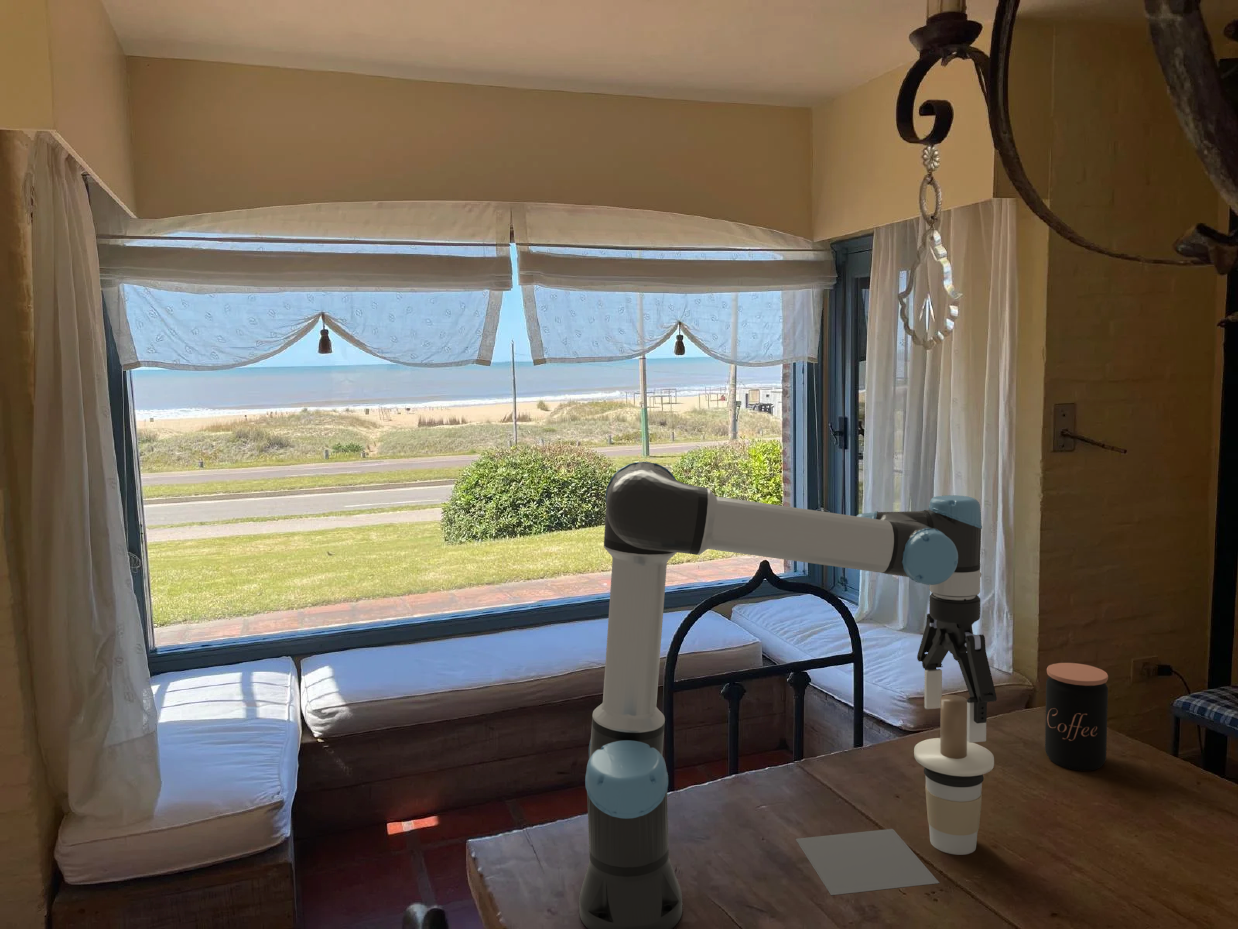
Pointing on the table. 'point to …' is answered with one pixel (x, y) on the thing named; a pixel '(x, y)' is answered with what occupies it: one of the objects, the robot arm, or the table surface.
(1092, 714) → the coffee jar
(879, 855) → the mat
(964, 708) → the lid
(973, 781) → the coffee cup
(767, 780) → the table surface
